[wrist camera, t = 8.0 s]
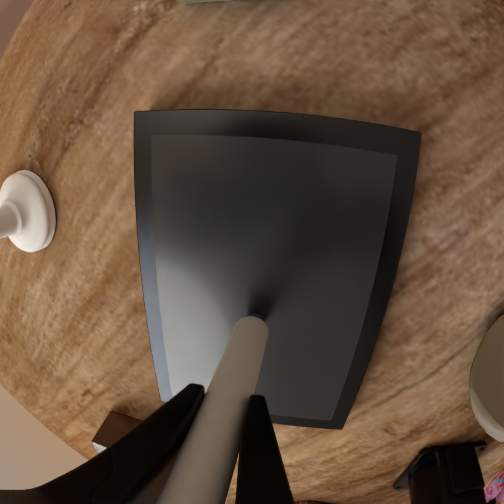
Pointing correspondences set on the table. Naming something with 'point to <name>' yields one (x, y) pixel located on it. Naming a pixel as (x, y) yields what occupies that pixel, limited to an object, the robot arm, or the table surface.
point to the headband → (496, 489)
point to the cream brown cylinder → (489, 381)
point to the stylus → (219, 421)
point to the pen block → (199, 1)
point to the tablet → (270, 247)
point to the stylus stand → (113, 430)
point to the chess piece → (26, 211)
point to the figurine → (311, 502)
